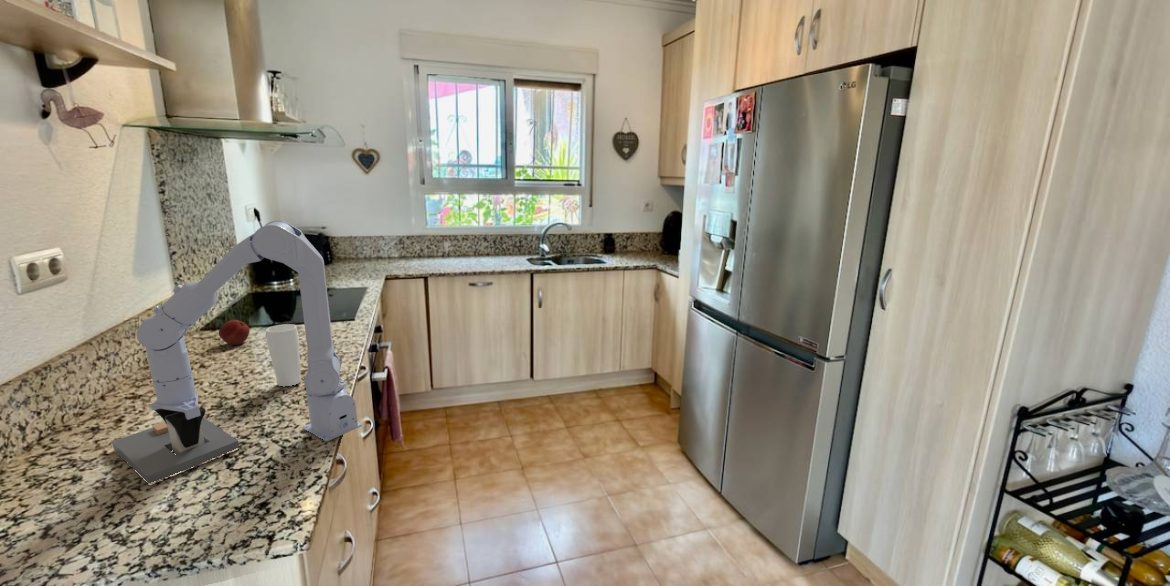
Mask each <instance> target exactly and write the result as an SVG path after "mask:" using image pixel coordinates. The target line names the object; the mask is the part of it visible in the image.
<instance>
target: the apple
mask: <svg viewBox="0 0 1170 586" xmlns="http://www.w3.org/2000/svg"><path fill="white" fill-rule="evenodd" d="M249 334H250V327H249V326H248V324H247V323H245V322H243V321H241V320H239V319H230V320H229V321H227V322H225V323H223V324H222V325H221V327H220V328H219V330H218V336H219V338H220V339H222V341H223V342H224V343H226V344H228V345H230V346H238V345H240V344H243V343H244V342H246V340H247V339H248V337H249Z"/></svg>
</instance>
